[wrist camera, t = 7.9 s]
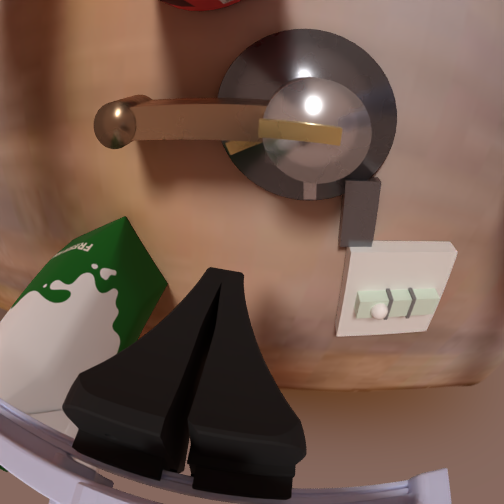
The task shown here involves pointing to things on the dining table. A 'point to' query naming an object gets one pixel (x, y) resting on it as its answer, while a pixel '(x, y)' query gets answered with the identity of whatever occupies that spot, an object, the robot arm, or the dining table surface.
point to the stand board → (392, 286)
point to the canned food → (200, 4)
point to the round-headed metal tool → (256, 125)
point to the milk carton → (76, 320)
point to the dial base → (331, 68)
